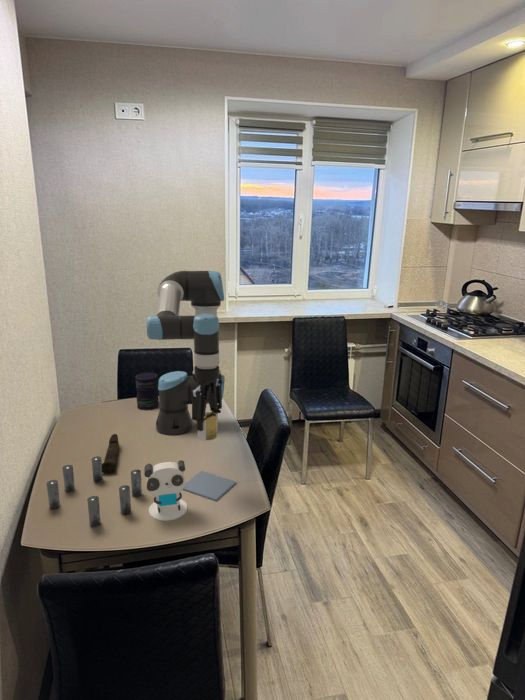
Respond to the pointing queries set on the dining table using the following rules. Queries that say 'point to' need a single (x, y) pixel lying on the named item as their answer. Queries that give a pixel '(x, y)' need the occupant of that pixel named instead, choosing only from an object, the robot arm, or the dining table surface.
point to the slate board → (208, 485)
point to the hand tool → (111, 456)
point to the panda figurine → (166, 489)
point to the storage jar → (147, 391)
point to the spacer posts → (94, 500)
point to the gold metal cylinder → (211, 426)
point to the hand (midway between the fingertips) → (207, 435)
